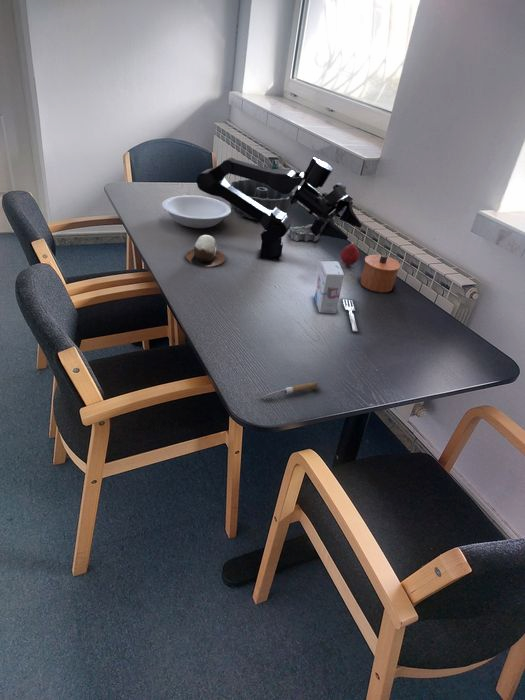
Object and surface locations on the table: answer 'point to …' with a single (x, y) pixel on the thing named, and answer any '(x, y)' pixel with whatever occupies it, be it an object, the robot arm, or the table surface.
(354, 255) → the onion
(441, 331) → the table surface
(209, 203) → the soup bowl
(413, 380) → the table surface
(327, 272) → the ink box
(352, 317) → the fork
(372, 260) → the pot lid
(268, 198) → the bundt pan
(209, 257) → the brown and cream dessert
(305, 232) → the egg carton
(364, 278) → the pot
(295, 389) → the folding knife
